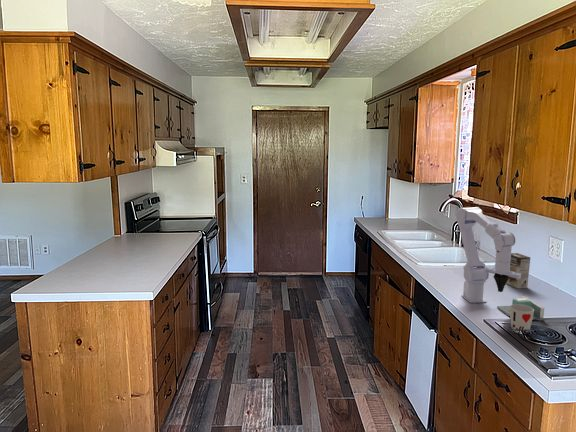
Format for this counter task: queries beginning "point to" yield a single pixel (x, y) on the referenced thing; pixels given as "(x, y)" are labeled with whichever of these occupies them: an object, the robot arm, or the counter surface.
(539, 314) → the rail base
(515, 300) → the module
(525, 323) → the cup
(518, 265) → the coffee box
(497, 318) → the counter surface
